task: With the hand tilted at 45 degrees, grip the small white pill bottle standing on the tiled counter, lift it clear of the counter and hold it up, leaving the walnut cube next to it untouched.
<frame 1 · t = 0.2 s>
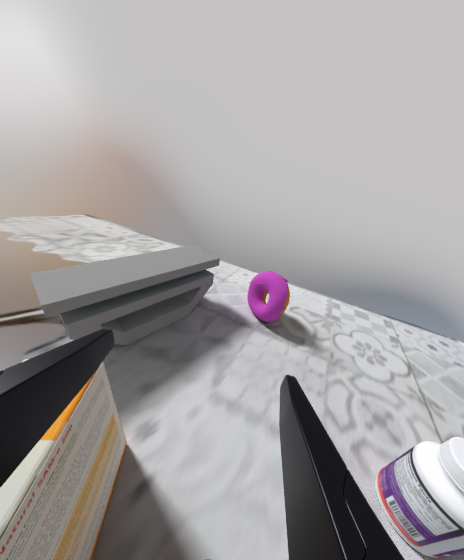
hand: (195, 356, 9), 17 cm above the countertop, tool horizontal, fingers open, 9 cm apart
pill bottle: (403, 508, 18), on the countertop
supplement box: (77, 508, 15), on the countertop
donut: (261, 314, 40), on the countertop
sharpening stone: (150, 317, 34), on the countertop
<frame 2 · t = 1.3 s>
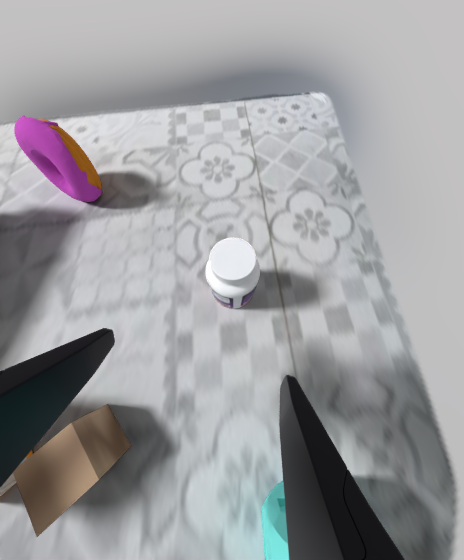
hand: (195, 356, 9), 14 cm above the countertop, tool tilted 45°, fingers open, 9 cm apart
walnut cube: (98, 442, 19), on the countertop
pill bottle: (232, 289, 25), on the countertop
decorative dice: (304, 528, 17), on the countertop
supplement box: (5, 445, 19), on the countertop
donut: (89, 192, 30), on the countertop
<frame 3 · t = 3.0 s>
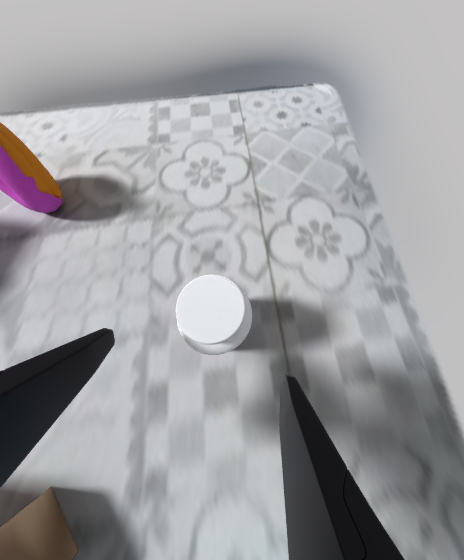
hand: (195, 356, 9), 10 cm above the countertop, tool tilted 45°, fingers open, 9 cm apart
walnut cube: (34, 545, 14), on the countertop
pill bottle: (220, 323, 20), on the countertop
donut: (50, 200, 25), on the countertop
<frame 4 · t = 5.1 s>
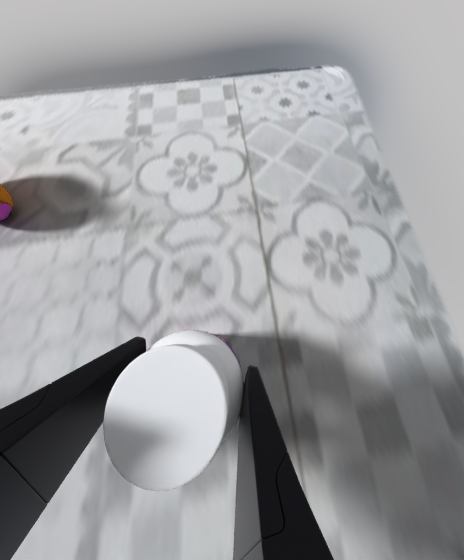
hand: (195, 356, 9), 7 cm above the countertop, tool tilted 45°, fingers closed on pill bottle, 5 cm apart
pill bottle: (206, 367, 15), on the countertop, touching gripper
donut: (3, 205, 21), on the countertop
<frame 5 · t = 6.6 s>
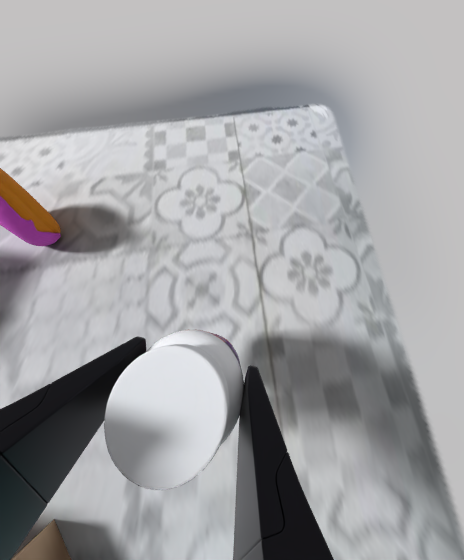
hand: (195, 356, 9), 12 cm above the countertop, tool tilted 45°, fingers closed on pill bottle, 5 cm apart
pill bottle: (207, 366, 15), point 5 cm above the countertop, touching gripper
donut: (49, 230, 26), on the countertop
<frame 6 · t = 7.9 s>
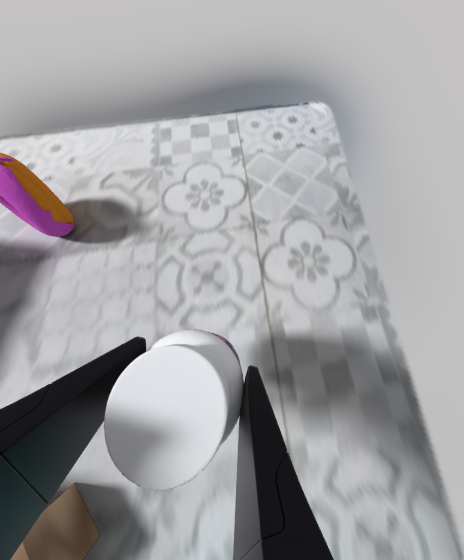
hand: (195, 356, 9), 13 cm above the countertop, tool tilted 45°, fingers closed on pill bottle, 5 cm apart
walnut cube: (63, 530, 17), on the countertop
pill bottle: (207, 366, 15), point 6 cm above the countertop, touching gripper
donut: (62, 222, 27), on the countertop
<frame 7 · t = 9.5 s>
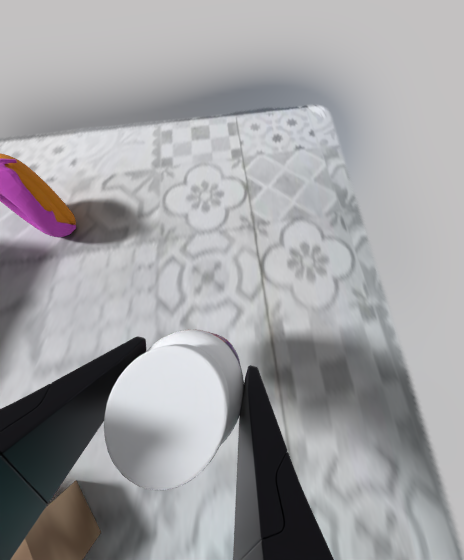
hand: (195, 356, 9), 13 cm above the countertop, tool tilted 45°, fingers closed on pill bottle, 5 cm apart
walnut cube: (64, 527, 17), on the countertop
pill bottle: (207, 366, 15), point 6 cm above the countertop, touching gripper
donut: (64, 223, 27), on the countertop
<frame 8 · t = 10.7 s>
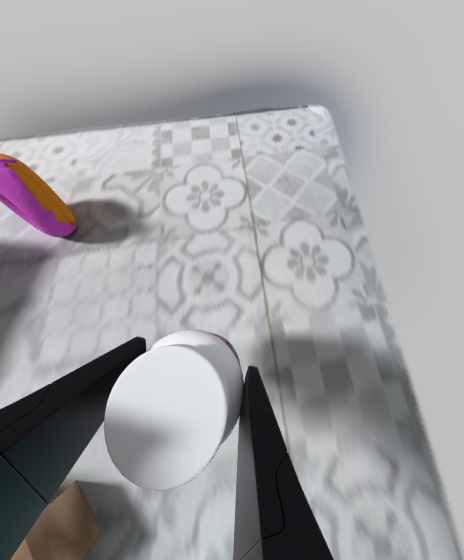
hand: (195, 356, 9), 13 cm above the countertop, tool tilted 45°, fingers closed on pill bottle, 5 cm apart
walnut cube: (64, 527, 17), on the countertop
pill bottle: (207, 366, 15), point 6 cm above the countertop, touching gripper
donut: (64, 223, 27), on the countertop
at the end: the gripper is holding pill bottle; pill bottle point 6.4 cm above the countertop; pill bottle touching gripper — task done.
